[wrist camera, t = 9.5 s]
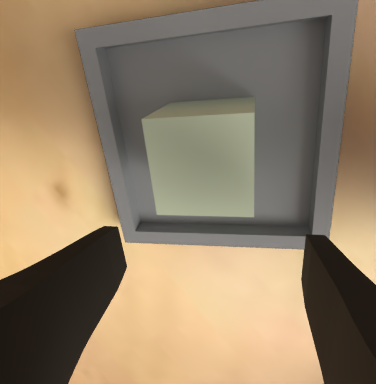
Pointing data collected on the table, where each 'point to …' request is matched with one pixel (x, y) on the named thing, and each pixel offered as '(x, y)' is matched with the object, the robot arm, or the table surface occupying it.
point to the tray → (223, 89)
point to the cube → (202, 157)
